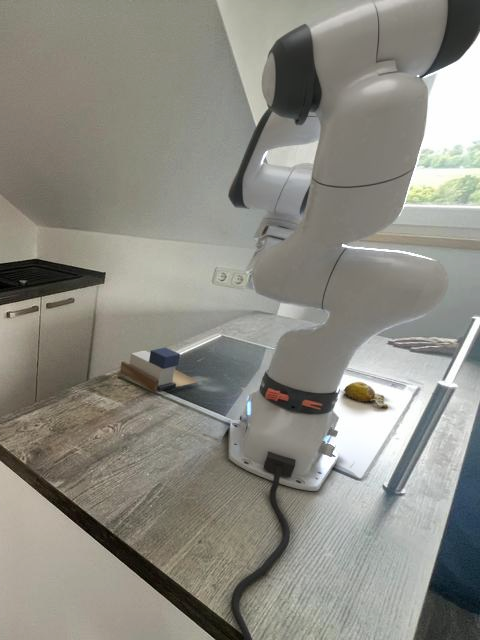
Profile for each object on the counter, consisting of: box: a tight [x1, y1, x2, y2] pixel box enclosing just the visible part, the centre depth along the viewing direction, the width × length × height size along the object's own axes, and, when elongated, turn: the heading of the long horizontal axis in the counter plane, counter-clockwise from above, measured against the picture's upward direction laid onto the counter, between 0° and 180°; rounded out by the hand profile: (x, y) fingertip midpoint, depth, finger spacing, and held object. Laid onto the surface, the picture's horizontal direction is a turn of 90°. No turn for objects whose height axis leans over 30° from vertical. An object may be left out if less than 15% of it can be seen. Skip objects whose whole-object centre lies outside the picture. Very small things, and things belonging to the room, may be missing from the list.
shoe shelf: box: [119, 361, 200, 393], centre depth 105 cm, size 16×13×4 cm
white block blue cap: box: [129, 347, 181, 392], centre depth 101 cm, size 12×6×9 cm, turn 26°
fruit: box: [343, 381, 389, 408], centre depth 96 cm, size 8×8×4 cm
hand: (248, 289), depth 100 cm, fingers closed
